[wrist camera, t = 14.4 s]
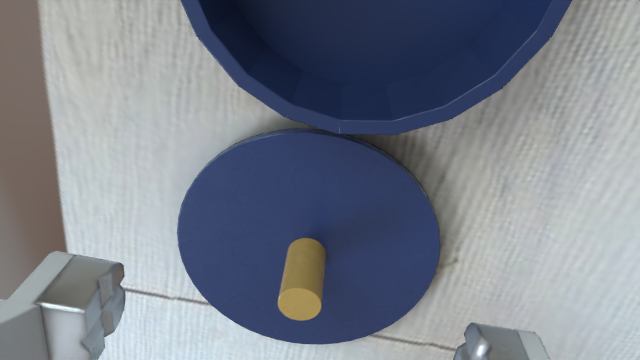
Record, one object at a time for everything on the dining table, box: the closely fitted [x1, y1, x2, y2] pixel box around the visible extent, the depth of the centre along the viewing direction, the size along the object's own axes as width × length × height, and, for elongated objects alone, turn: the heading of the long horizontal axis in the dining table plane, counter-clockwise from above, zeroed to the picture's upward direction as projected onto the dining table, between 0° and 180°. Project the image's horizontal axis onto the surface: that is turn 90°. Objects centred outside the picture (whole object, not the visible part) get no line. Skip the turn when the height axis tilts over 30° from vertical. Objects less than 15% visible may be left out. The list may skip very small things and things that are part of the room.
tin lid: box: [177, 129, 440, 344], centre depth 28 cm, size 16×16×6 cm
